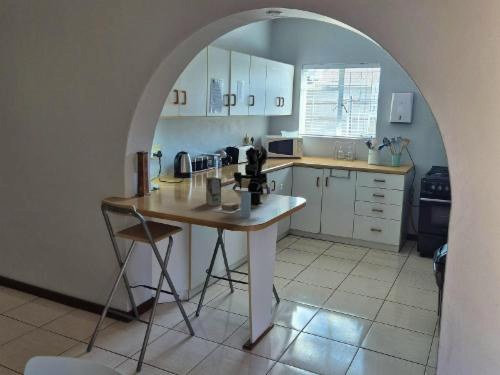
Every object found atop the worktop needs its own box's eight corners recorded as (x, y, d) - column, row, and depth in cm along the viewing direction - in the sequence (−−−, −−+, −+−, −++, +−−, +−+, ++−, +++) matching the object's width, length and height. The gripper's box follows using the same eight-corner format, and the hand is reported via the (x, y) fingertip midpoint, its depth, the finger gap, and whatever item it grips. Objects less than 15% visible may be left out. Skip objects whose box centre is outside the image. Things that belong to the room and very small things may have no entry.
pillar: (242, 215, 248) (242, 192, 246) (250, 215, 248) (250, 192, 245) (240, 217, 244) (241, 193, 242) (249, 217, 243) (249, 194, 241)
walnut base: (230, 205, 270) (230, 200, 270) (246, 208, 264) (246, 202, 263) (213, 211, 257) (213, 205, 257) (230, 214, 251) (230, 208, 250)
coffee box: (221, 205, 272) (221, 178, 269) (212, 206, 269) (212, 179, 266) (215, 202, 280) (214, 176, 277) (205, 203, 277) (205, 177, 274)
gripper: (234, 158, 255) (229, 180, 246) (266, 159, 251) (263, 182, 243) (237, 169, 264) (233, 191, 255) (268, 170, 260) (265, 193, 252)
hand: (248, 189), depth 251 cm, fingers open, 9 cm apart
